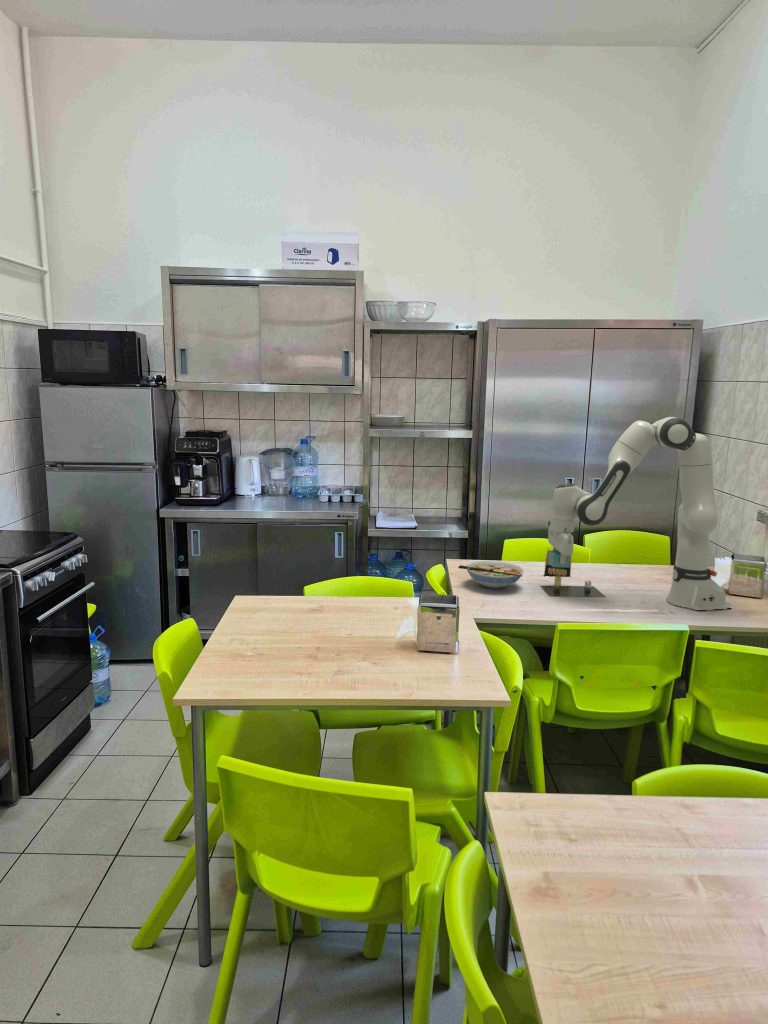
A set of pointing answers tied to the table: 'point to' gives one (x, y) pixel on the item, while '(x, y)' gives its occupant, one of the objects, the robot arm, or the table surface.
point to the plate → (571, 590)
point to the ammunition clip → (556, 569)
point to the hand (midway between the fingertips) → (558, 561)
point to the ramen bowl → (494, 573)
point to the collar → (557, 559)
